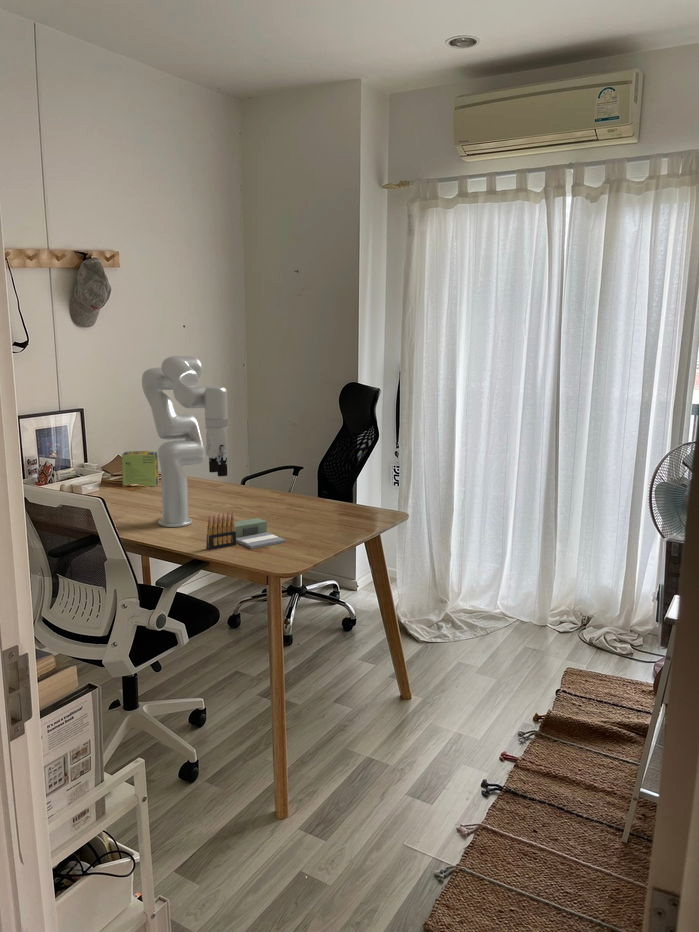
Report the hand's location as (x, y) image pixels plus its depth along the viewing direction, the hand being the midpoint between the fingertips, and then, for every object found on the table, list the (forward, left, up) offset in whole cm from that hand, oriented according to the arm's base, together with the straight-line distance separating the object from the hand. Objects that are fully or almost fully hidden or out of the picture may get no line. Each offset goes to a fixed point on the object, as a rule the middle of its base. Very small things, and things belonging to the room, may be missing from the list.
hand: (218, 474), depth 250 cm
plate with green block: (+1, +14, -25) cm, 29 cm away
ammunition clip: (+2, 0, -25) cm, 25 cm away
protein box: (-107, +19, -25) cm, 111 cm away
